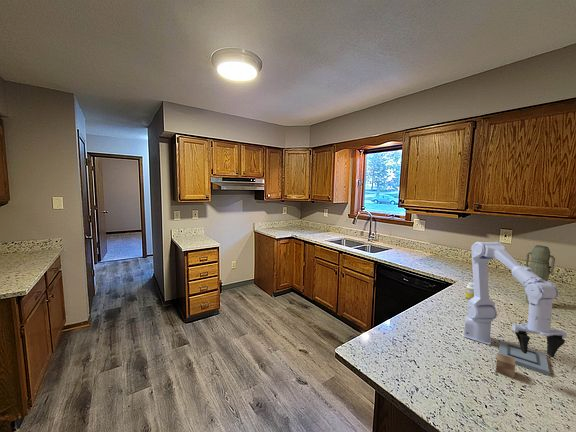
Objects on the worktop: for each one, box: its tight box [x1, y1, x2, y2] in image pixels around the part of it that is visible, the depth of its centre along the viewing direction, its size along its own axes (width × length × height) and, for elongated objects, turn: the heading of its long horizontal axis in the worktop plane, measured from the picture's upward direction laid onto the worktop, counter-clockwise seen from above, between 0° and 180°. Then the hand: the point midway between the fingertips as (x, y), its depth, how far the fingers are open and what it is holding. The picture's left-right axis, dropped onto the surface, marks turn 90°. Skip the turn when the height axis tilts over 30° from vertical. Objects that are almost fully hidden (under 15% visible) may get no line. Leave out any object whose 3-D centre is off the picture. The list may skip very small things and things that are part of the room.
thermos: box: [525, 244, 556, 302], centre depth 151 cm, size 9×12×35 cm
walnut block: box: [495, 352, 516, 380], centre depth 93 cm, size 5×5×5 cm
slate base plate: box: [498, 339, 550, 377], centre depth 101 cm, size 14×14×2 cm
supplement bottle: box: [465, 281, 474, 301], centre depth 158 cm, size 6×6×10 cm
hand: (536, 353), depth 90 cm, fingers open, 7 cm apart
